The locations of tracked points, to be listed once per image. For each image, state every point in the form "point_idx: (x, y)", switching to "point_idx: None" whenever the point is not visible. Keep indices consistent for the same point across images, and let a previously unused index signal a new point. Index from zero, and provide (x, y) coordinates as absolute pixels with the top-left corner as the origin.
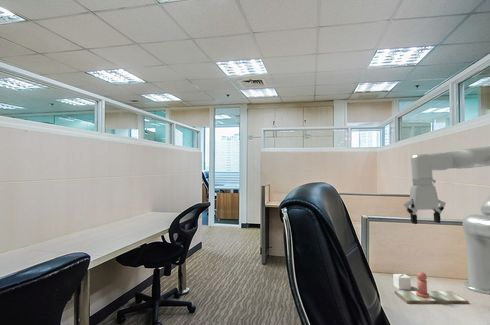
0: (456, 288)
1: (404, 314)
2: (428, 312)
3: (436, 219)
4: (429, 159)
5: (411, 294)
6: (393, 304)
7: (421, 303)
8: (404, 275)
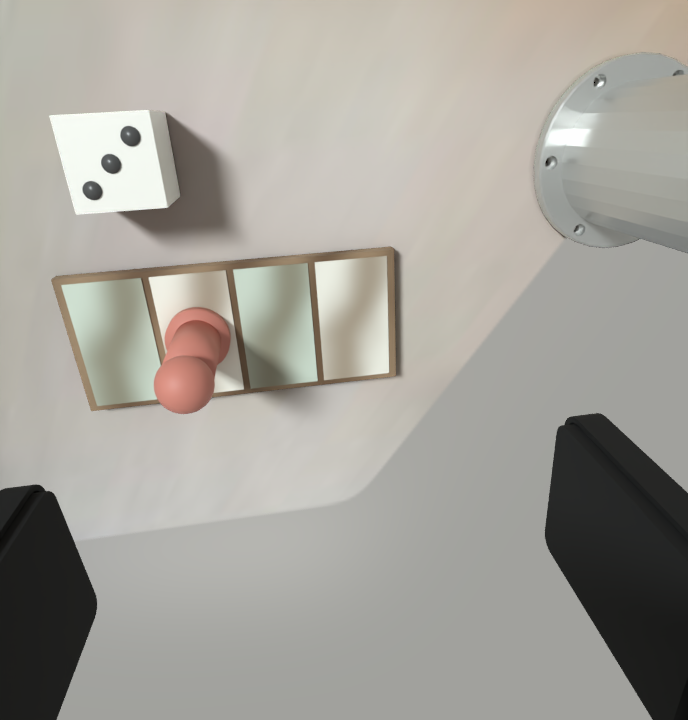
0: (477, 152)
1: None
2: (167, 470)
3: (583, 541)
4: None
5: (140, 326)
6: (23, 414)
7: None
8: (137, 154)
